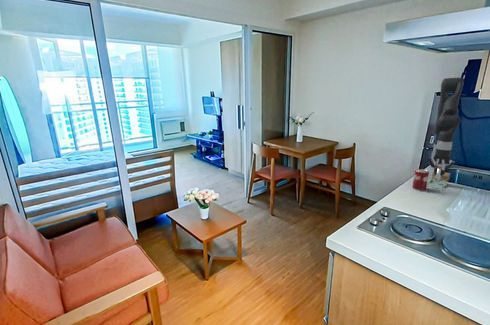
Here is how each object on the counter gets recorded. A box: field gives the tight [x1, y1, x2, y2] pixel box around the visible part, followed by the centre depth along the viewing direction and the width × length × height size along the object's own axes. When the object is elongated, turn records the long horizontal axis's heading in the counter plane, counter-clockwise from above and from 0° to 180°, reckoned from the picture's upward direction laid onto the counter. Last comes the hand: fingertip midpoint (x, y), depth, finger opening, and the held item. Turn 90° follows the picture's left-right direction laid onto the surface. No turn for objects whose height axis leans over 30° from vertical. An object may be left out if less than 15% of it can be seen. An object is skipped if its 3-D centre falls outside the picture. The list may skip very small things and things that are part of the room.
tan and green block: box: [430, 171, 451, 183], centre depth 171 cm, size 13×9×5 cm
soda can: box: [411, 168, 430, 192], centre depth 159 cm, size 7×7×12 cm
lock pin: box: [435, 167, 442, 183], centre depth 162 cm, size 3×3×9 cm
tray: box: [427, 178, 449, 191], centre depth 164 cm, size 10×9×2 cm
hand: (438, 174), depth 162 cm, fingers closed on lock pin, 2 cm apart
